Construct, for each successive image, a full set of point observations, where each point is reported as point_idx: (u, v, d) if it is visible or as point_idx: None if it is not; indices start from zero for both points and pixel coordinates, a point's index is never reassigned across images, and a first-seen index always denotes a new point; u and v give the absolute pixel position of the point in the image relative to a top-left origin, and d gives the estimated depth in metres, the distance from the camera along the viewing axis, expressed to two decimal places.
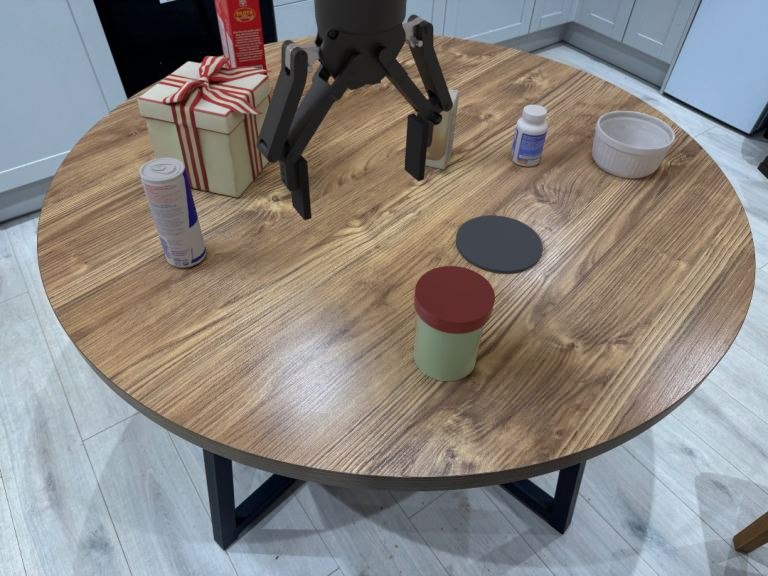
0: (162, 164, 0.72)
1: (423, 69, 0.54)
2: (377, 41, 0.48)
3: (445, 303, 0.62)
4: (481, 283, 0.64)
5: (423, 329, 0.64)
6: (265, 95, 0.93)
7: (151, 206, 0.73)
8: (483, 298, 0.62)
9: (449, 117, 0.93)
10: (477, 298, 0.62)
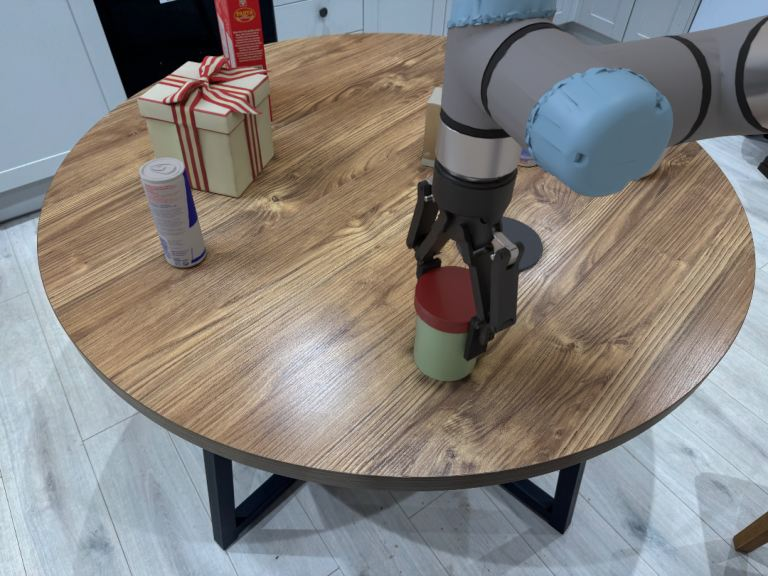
0: (162, 164, 0.72)
1: None
2: (465, 218, 0.54)
3: (445, 303, 0.62)
4: None
5: (423, 329, 0.64)
6: (265, 95, 0.93)
7: (151, 206, 0.73)
8: None
9: None
10: None
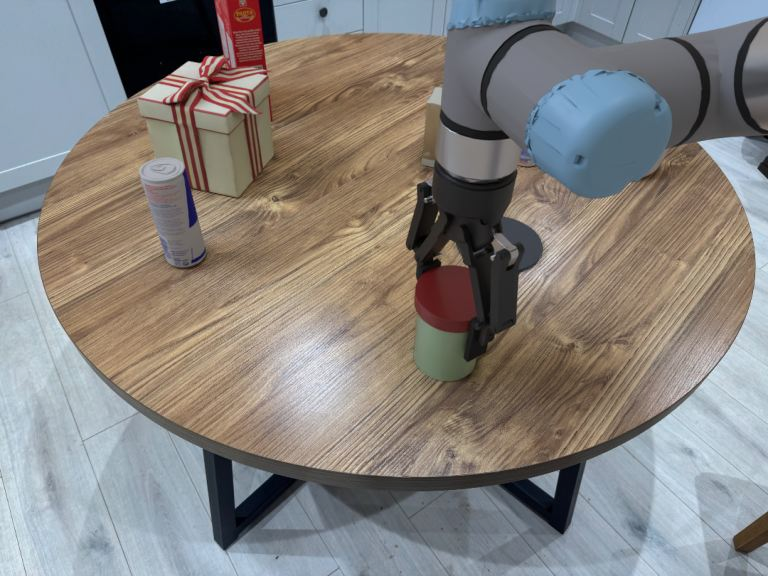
0: (162, 164, 0.72)
1: None
2: (465, 220, 0.54)
3: (472, 298, 0.62)
4: (437, 272, 0.65)
5: (423, 329, 0.64)
6: (265, 95, 0.93)
7: (151, 206, 0.73)
8: (457, 272, 0.65)
9: None
10: (459, 276, 0.64)
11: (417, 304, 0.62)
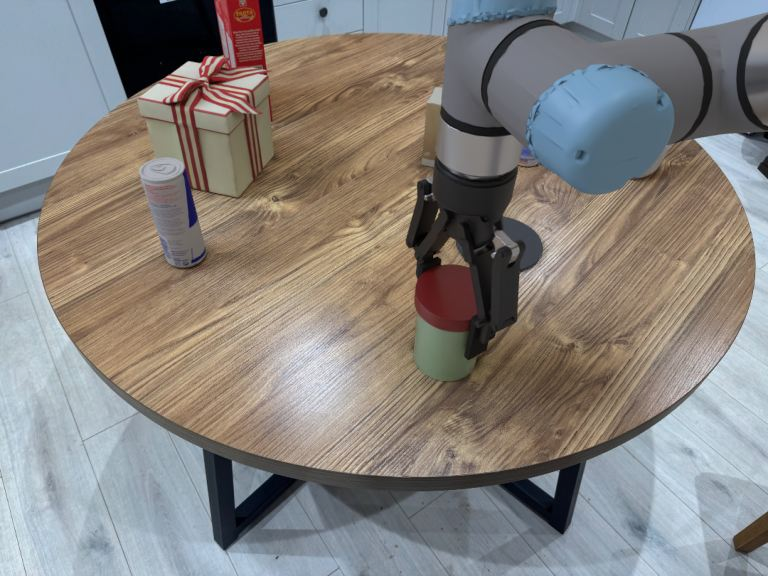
0: (162, 164, 0.72)
1: None
2: (466, 217, 0.54)
3: (461, 279, 0.64)
4: (430, 303, 0.61)
5: (423, 329, 0.64)
6: (265, 95, 0.93)
7: (151, 206, 0.73)
8: (426, 288, 0.63)
9: None
10: (432, 287, 0.63)
11: None
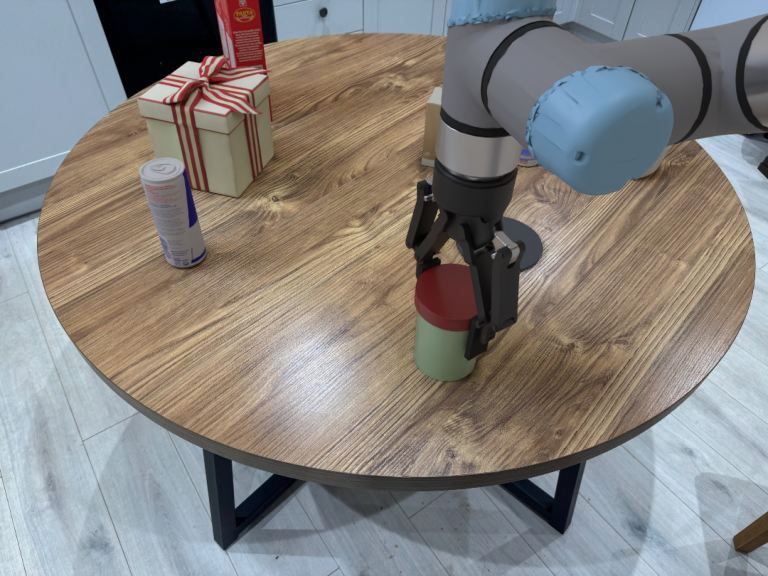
0: (162, 164, 0.72)
1: None
2: (466, 218, 0.54)
3: (437, 284, 0.63)
4: None
5: (423, 329, 0.64)
6: (265, 95, 0.93)
7: (151, 206, 0.73)
8: (456, 311, 0.60)
9: None
10: (454, 306, 0.61)
11: None
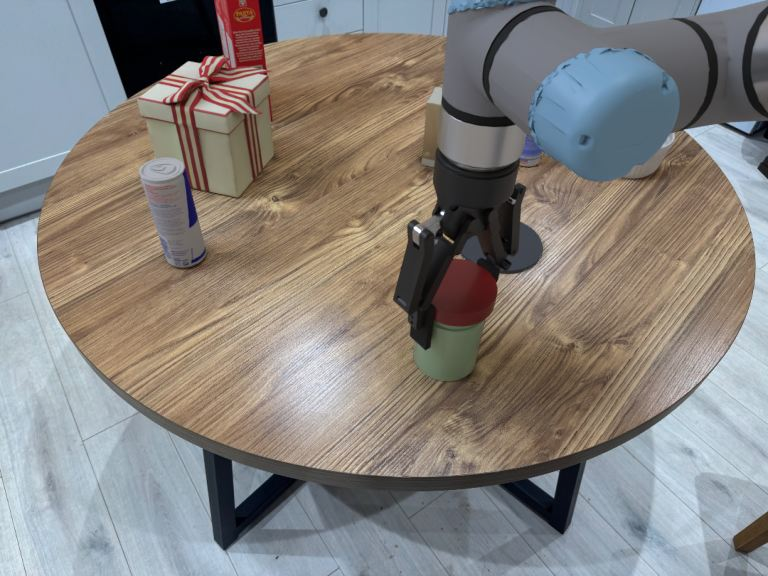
0: (162, 164, 0.72)
1: (504, 220, 0.60)
2: None
3: (452, 297, 0.60)
4: (477, 270, 0.64)
5: None
6: (265, 95, 0.93)
7: (151, 206, 0.73)
8: (486, 284, 0.62)
9: None
10: (480, 286, 0.62)
11: None
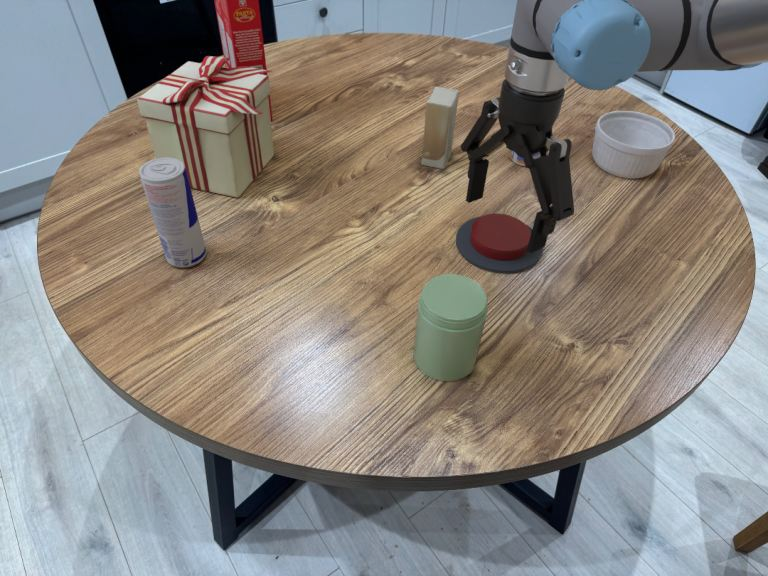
0: (162, 164, 0.72)
1: (485, 129, 0.79)
2: None
3: (514, 235, 0.84)
4: (484, 219, 0.86)
5: (423, 329, 0.64)
6: (265, 95, 0.93)
7: (151, 206, 0.73)
8: (499, 218, 0.87)
9: (449, 117, 0.93)
10: (501, 221, 0.86)
11: (475, 242, 0.84)
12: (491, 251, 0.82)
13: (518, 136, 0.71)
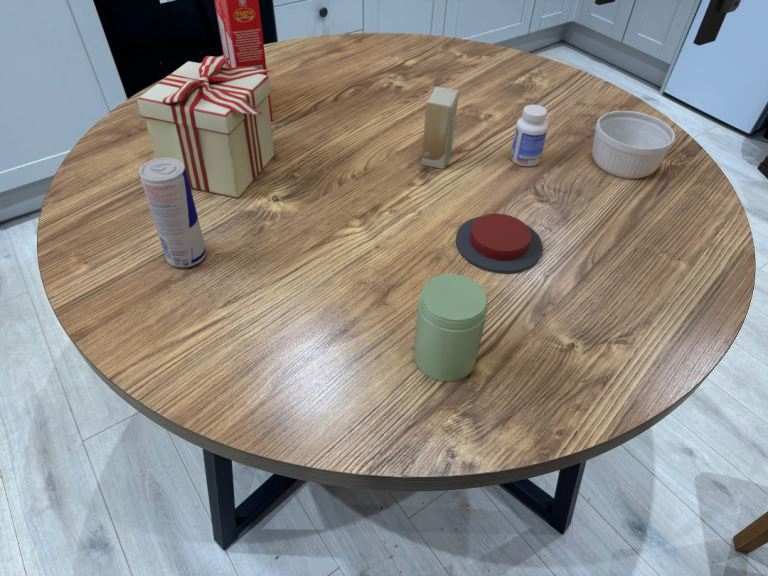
0: (162, 164, 0.72)
1: None
2: None
3: (514, 235, 0.84)
4: (484, 219, 0.86)
5: (423, 329, 0.64)
6: (265, 95, 0.93)
7: (151, 206, 0.73)
8: (499, 218, 0.87)
9: (449, 117, 0.93)
10: (501, 221, 0.86)
11: (475, 242, 0.84)
12: (491, 251, 0.82)
13: None
